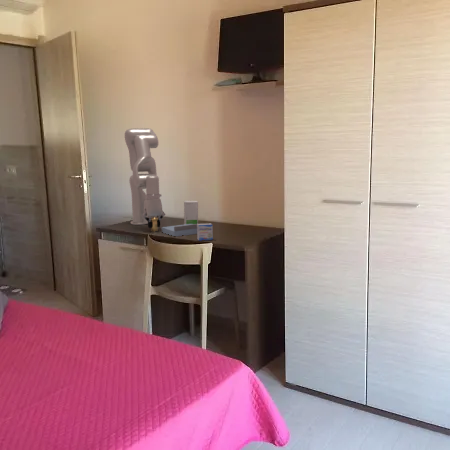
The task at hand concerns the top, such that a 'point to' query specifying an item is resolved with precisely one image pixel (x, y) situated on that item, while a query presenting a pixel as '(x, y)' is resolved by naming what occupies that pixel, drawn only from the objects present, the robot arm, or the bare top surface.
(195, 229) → the jig
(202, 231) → the medicine box
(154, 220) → the bushing
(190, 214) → the skincare box
